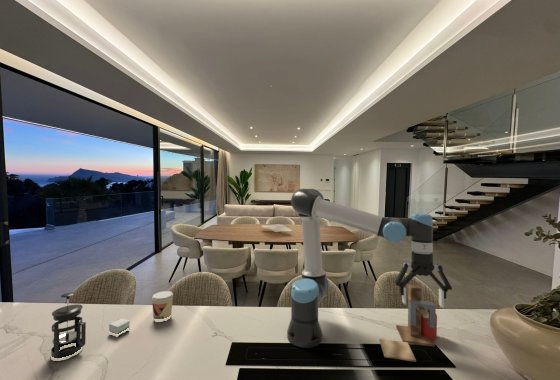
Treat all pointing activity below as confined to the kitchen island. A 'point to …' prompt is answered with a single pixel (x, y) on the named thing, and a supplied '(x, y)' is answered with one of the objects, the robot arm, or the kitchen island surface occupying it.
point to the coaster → (397, 350)
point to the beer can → (428, 329)
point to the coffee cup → (162, 304)
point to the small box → (119, 326)
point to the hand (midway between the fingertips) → (422, 304)
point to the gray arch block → (421, 305)
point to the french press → (69, 337)
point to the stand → (414, 332)
